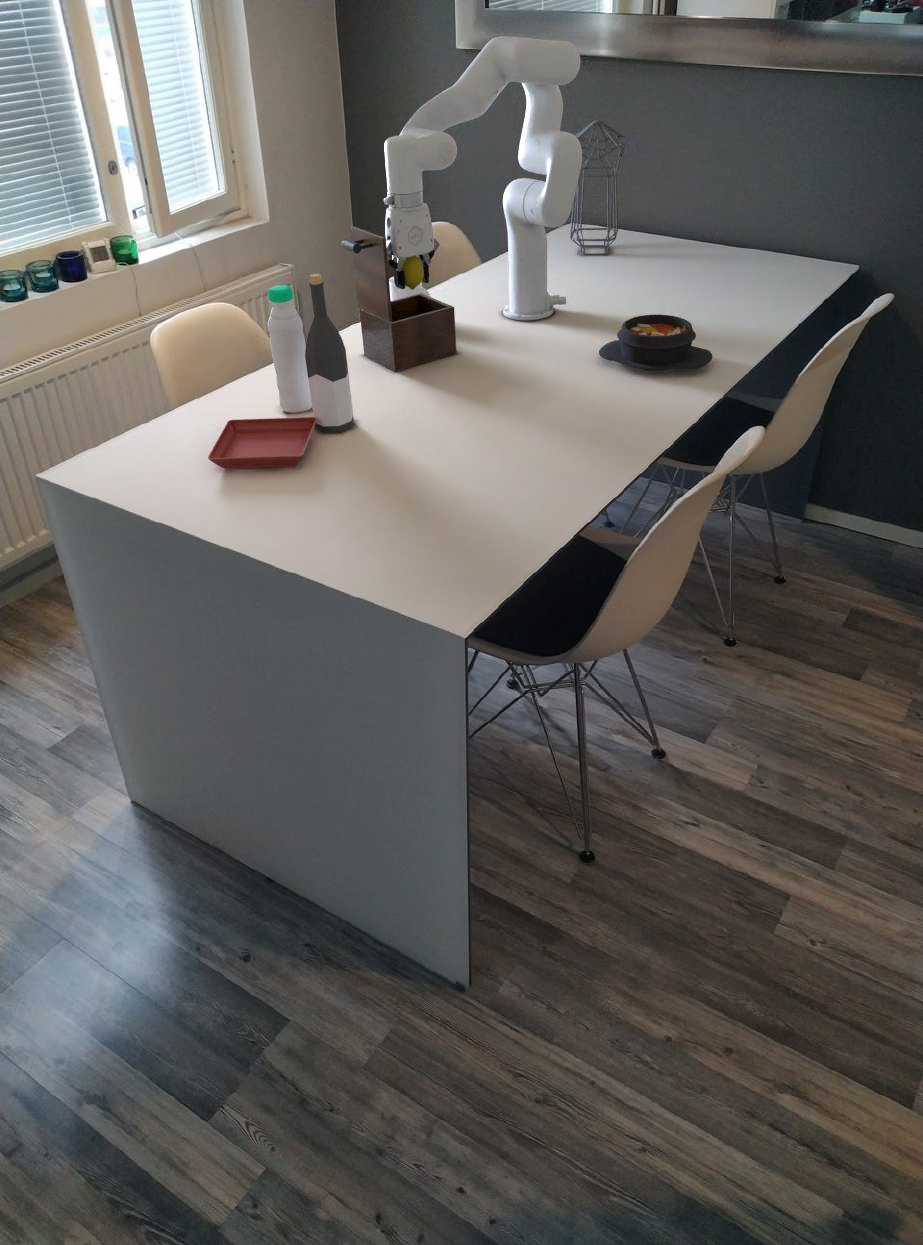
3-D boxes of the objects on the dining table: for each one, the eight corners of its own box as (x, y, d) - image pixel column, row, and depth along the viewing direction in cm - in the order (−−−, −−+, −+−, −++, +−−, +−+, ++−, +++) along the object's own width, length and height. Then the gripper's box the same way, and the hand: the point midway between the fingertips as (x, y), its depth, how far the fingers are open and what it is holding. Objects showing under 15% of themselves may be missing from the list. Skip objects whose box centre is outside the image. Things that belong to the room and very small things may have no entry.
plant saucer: (231, 433, 203) (228, 418, 201) (319, 431, 202) (317, 415, 200) (209, 474, 188) (206, 458, 186) (305, 472, 187) (303, 455, 185)
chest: (424, 338, 243) (420, 293, 237) (456, 353, 234) (454, 306, 228) (364, 355, 236) (359, 309, 230) (395, 371, 226) (391, 324, 220)
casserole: (720, 354, 226) (724, 317, 221) (699, 384, 212) (703, 345, 207) (613, 342, 235) (615, 306, 230) (586, 370, 222) (587, 333, 217)
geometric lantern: (565, 258, 293) (567, 126, 273) (570, 243, 306) (571, 116, 285) (620, 258, 290) (626, 124, 270) (622, 243, 303) (628, 114, 283)
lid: (352, 225, 220) (330, 230, 217) (385, 237, 210) (362, 242, 208) (360, 306, 230) (339, 312, 227) (392, 321, 220) (370, 327, 218)
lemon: (400, 287, 230) (397, 250, 225) (424, 285, 230) (421, 249, 225) (400, 294, 225) (397, 257, 221) (425, 292, 225) (423, 255, 221)
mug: (442, 320, 254) (440, 278, 248) (423, 330, 248) (420, 288, 242) (405, 313, 260) (402, 272, 254) (385, 322, 254) (381, 281, 248)
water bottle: (319, 402, 214) (303, 283, 200) (305, 415, 209) (287, 294, 194) (290, 399, 216) (272, 281, 202) (274, 412, 211) (254, 292, 197)
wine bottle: (361, 420, 205) (345, 270, 188) (341, 436, 200) (322, 283, 182) (328, 415, 208) (308, 267, 191) (307, 430, 203) (285, 279, 185)
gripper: (380, 209, 210) (388, 296, 220) (448, 195, 218) (453, 280, 228) (362, 203, 215) (370, 289, 226) (429, 190, 223) (434, 273, 233)
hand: (412, 284), depth 227 cm, fingers closed on lemon, 5 cm apart
